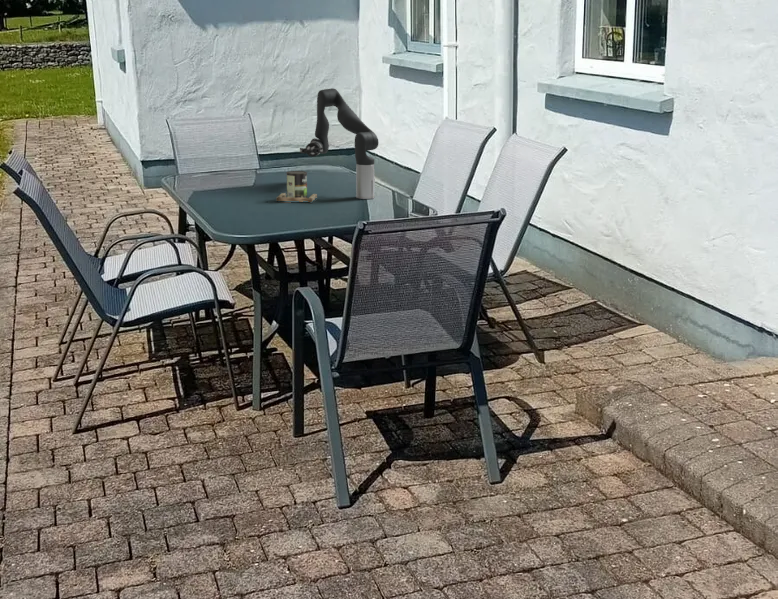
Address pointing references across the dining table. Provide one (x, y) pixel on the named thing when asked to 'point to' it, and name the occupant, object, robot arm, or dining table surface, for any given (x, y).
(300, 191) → the coffee can
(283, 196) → the dock bay
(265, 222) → the dining table surface
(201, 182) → the dining table surface
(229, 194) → the dining table surface
